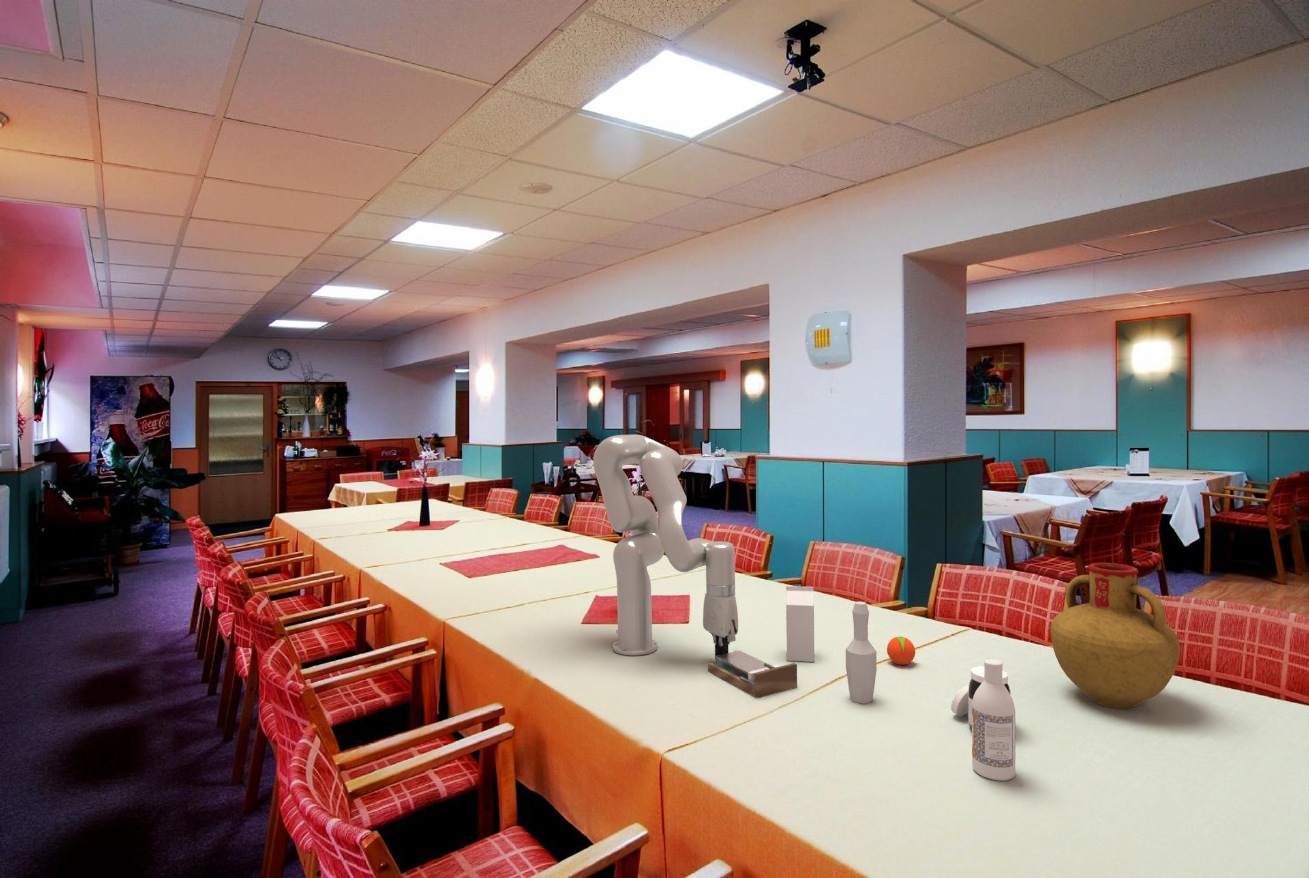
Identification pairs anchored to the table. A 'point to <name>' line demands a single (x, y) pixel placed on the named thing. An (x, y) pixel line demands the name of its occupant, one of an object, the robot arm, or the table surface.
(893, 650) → the clementine
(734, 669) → the white square block
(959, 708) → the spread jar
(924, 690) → the table surface
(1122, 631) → the vase
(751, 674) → the pusher
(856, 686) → the faceted bottle
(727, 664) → the tin
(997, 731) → the bath foam
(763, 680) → the lane
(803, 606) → the milk carton
